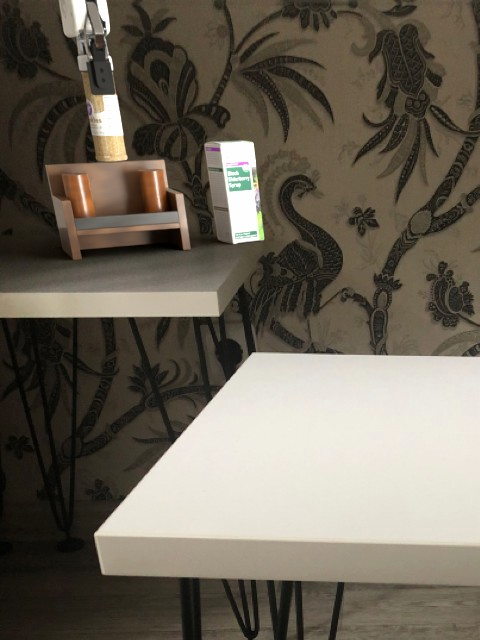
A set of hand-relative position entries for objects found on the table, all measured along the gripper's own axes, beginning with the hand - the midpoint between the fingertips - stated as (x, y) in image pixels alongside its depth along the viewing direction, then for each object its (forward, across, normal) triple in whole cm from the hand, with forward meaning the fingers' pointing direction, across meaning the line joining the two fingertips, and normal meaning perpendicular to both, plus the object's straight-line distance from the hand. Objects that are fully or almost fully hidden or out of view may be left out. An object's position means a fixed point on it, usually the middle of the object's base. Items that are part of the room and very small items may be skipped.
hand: (100, 93), depth 130 cm
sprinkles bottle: (+9, 0, 0) cm, 9 cm away
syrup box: (+21, 0, +18) cm, 28 cm away
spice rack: (+21, 0, 0) cm, 21 cm away
